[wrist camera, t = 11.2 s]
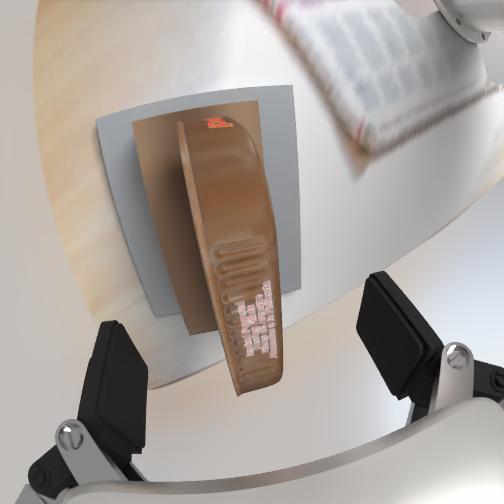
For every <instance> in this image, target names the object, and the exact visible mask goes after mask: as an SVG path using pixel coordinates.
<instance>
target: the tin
mask: <svg viewBox="0 0 504 504" xmlns="http://www.w3.org/2000/svg"><path fill="white" fill-rule="evenodd" d="M176 126H177V133H178V140H179V148H180V155H181V160H182V166H183V171H184V176H185V181H186V187H187V193H188V198H189V203H190V208H191V214H192V218H193V223H194V228H195V233H196V238H197V242H198V247H199V252H200V256H201V261H202V265H203V270H204V274H205V278H206V282H207V287H208V291H209V295H210V298H211V302H212V307H213V311H214V315H215V319H216V322H217V326H218V330H219V333H220V337H221V341H222V345H223V348H224V352H225V356H226V359H227V363H228V366H229V370H230V373H231V377H232V380H233V384H234V387H235V391H236V394H237V396H240V395H241V394H243V393H246V392H250V391H253V390H257V389H261V388H265V387H268V386H271V385H273V384H276V383H277V382H279V381H280V379H281V377H282V373H283V337H282V311H281V289H280V272H279V258H278V245H277V233H276V225H275V217H274V212H273V206H272V201H271V196H270V191H269V186H268V182H267V178H266V175H265V172H264V168H263V165H262V161H261V158H260V156H259V153H258V151H257V148H256V146H255V144H254V142H253V140H252V138H251V136H250V134H249V132H248V131H247V130H246V129H245V127H244V126H243V125H241V124H240V123H238V122H237V121H235V120H234V119H233V118H230V117H216V118H210V119H205V120H199V121H193V122H188V123H183V122H181V121H178V122H176Z"/></svg>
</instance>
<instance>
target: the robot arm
mask: <svg viewBox="0 0 504 504" xmlns="http://www.w3.org/2000/svg"><path fill="white" fill-rule="evenodd" d="M434 2H435V3H436V5H437V7H438V9H439V10H440V12H441V13H442V15H443V16H444V17H445V19H446V20H447V21H448V23H449V24H450V25H451V26H452V27H453V28H454V29H455V31H456V32H458V33H459V34H460V35H461V36H462V37H463V38H465V39H466V40H468V41H470V42H473V43H485V42H486V41H488V39H489V37H490V34H491V32H502V33H504V0H434ZM356 329H357V333H358V335H359V336H360V338H361V340H362V342H363V343H364V345H365V347H366V349H367V350H368V352H369V354H370V356H371V357H372V359H373V361H374V363H375V364H376V366H377V368H378V370H379V372H380V373H381V376H382V377H383V379H384V381H385V383H386V385H387V387H388V389H389V390H390V392H391V394H392V395H394V396H396V397H397V399H398V400H401V399H403V398H405V397H407V396H409V397H410V399H411V401H412V403H411V407H410V411H409V415H408V419H407V422H406V426H405V427H403V428H401V429H399V430H397V431H395V432H392V433H390V434H388V435H386V436H384V437H381V438H379V439H376V440H374V441H372V442H369V443H367V444H364V445H362V446H359V447H356V448H353V449H351V450H348V451H345V452H342V453H339V454H336V455H333V456H330V457H327V458H324V459H320V460H317V461H313V462H310V463H306V464H302V465H298V466H295V467H291V468H286V469H281V470H277V471H272V472H267V473H261V474H256V475H249V476H242V477H236V478H227V479H217V480H205V481H186V482H149V481H148V480H147V479H146V478H145V477H144V476H143V475H142V473H141V472H140V471H139V470H138V469H137V468H136V467H135V465H134V464H133V463H132V462H131V458H132V456H131V455H132V454H141V453H142V448H144V447H145V430H146V401H147V384H148V368H147V365H146V363H145V362H144V360H143V359H142V357H141V355H140V354H139V352H138V350H137V349H136V347H135V345H134V344H133V342H132V340H131V338H130V337H129V335H128V333H127V331H126V330H125V328H124V326H123V325H122V324H119V323H118V321H116V320H113V321H105V322H102V323H101V325H100V328H99V332H98V336H97V339H96V343H95V346H94V350H93V354H92V357H91V358H90V360H89V363H88V367H87V372H86V376H85V380H84V385H83V390H82V394H81V400H80V405H79V411H78V417H77V420H75V419H70V420H66V421H64V422H62V423H61V424H60V425H59V427H58V429H57V430H56V434H55V440H56V445H55V446H54V447H52V448H51V449H50V450H49V451H48V452H47V453H45V454H44V455H43V456H42V457H40V458H39V459H38V460H37V461H36V462H35V463H33V464H32V466H31V467H30V469H29V472H28V479H29V483H30V484H29V485H28V484H26V485H25V486H24V488H23V490H22V492H21V494H20V495H19V497H18V499H17V501H16V503H15V504H504V368H502V367H499V366H496V365H492V364H488V363H485V362H481V361H477V360H474V358H473V354H472V352H471V350H470V349H469V348H468V347H467V346H465V345H464V344H462V343H459V342H452V343H449V344H447V345H446V346H444V345H443V343H442V341H441V340H440V338H439V337H438V336H437V334H436V333H435V332H434V330H433V329H432V328H431V327H430V325H429V324H428V323H427V321H426V320H425V319H424V317H423V316H422V315H421V314H420V312H419V311H418V310H417V309H416V307H415V306H414V305H413V304H412V302H411V301H410V300H409V299H408V298H407V296H406V295H405V294H404V293H403V292H402V290H401V289H400V288H399V287H398V286H397V284H396V283H395V282H394V281H393V280H392V279H391V278H390V276H389V275H388V274H387V273H386V272H385V271H380V272H376V273H372V274H370V275H369V278H367V279H366V282H365V287H364V292H363V297H362V302H361V307H360V311H359V316H358V320H357V324H356Z"/></svg>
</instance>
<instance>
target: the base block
mask: <svg viewBox="0 0 504 504" xmlns="http://www.w3.org/2000/svg"><path fill="white" fill-rule="evenodd" d="M216 117H230V118H233V119H234V120H235V121H237V122H238V123H240V124H241V125H243V126H244V127H245V129H246V130H247V131H248V132H249V134H250V136H251V138H252V140H253V142H254V144H255V146H256V148H257V151H258V153H259V156H260V158H261V161H262V165H263V168H264V157H263V146H262V135H261V125H260V115H259V105H258V100H254V101H244V102H235V103H226V104H219V105H212V106H205V107H199V108H193V109H188V110H182V111H177V112H172V113H167V114H163V115H158V116H154V117H150V118H145V119H141V120H137V121H134V122H132V127H133V132H134V138H135V143H136V148H137V153H138V158H139V163H140V168H141V172H142V177H143V181H144V185H145V190H146V194H147V198H148V202H149V206H150V210H151V214H152V218H153V221H154V225H155V229H156V233H157V236H158V240H159V243H160V247H161V250H162V254H163V257H164V260H165V264H166V267H167V270H168V273H169V276H170V280H171V283H172V286H173V289H174V292H175V295H176V298H177V301H178V304H179V307H180V310H181V312H182V315H183V318H184V321H185V324H186V326H187V329H188V332H189V335H194V334H200V333H205V332H211V331H216V330H218V326H217V322H216V319H215V315H214V311H213V307H212V302H211V298H210V295H209V291H208V287H207V282H206V278H205V274H204V270H203V265H202V261H201V256H200V252H199V247H198V242H197V238H196V233H195V228H194V223H193V218H192V214H191V208H190V203H189V198H188V193H187V187H186V181H185V176H184V171H183V166H182V160H181V155H180V148H179V140H178V133H177V126H176V122H178V121H181V122H183V123H188V122H193V121H199V120H205V119H210V118H216ZM264 172H265V168H264Z"/></svg>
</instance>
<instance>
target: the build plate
mask: <svg viewBox="0 0 504 504" xmlns="http://www.w3.org/2000/svg"><path fill="white" fill-rule="evenodd" d="M254 100H258V105H259V115H260V125H261V135H262V146H263V157H264V168H265V175H266V178H267V182H268V186H269V191H270V196H271V201H272V206H273V212H274V217H275V225H276V233H277V245H278V258H279V272H280V289H281V293H286V292H290V291H294V290H299V289H301V240H300V198H299V173H298V153H297V137H296V122H295V109H294V96H293V85H280V86H261V87H248V88H237V89H228V90H220V91H213V92H206V93H199V94H193V95H188V96H182V97H177V98H172V99H167V100H162V101H158V102H154V103H149V104H145V105H141V106H137V107H134V108H130V109H126V110H123V111H119V112H116V113H113V114H109V115H106V116H103V117H100V118H97V119H96V124H97V129H98V134H99V139H100V144H101V149H102V154H103V158H104V163H105V167H106V171H107V175H108V179H109V183H110V187H111V191H112V194H113V198H114V202H115V205H116V208H117V212H118V215H119V219H120V222H121V225H122V228H123V231H124V235H125V238H126V241H127V244H128V247H129V250H130V253H131V255H132V258H133V261H134V264H135V267H136V269H137V272H138V275H139V277H140V280H141V283H142V285H143V288H144V290H145V293H146V295H147V298H148V300H149V303H150V305H151V308H152V310H153V312H154V315H155V317H160V316H167V315H173V314H178V313H182V312H181V310H180V307H179V304H178V301H177V298H176V295H175V292H174V289H173V286H172V283H171V280H170V276H169V273H168V270H167V267H166V264H165V260H164V257H163V254H162V250H161V247H160V243H159V240H158V236H157V233H156V229H155V225H154V221H153V218H152V214H151V210H150V206H149V202H148V198H147V194H146V190H145V185H144V181H143V177H142V172H141V168H140V163H139V158H138V153H137V148H136V143H135V138H134V132H133V127H132V122H134V121H137V120H141V119H145V118H150V117H154V116H158V115H163V114H167V113H172V112H177V111H182V110H188V109H193V108H199V107H205V106H212V105H219V104H226V103H235V102H244V101H254Z"/></svg>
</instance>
